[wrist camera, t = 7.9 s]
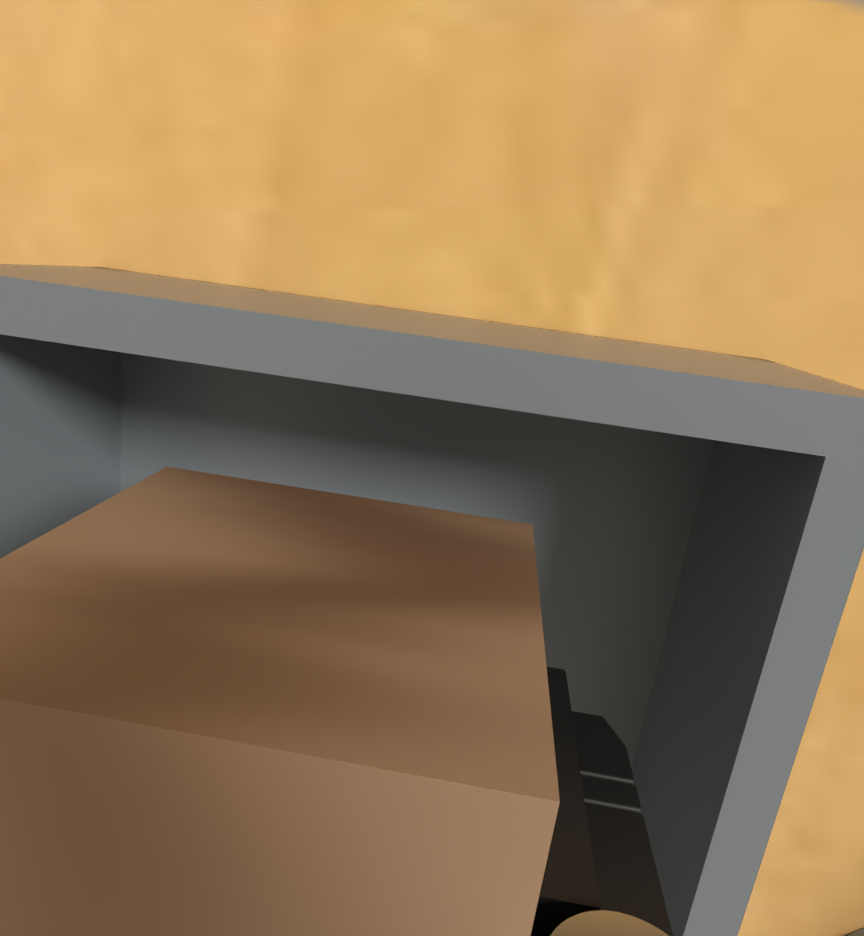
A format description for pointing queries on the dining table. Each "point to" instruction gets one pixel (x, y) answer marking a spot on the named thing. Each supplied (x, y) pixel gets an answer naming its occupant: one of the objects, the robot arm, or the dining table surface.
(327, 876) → the walnut cube
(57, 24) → the dining table surface
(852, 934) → the blue cylinder
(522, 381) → the tote
